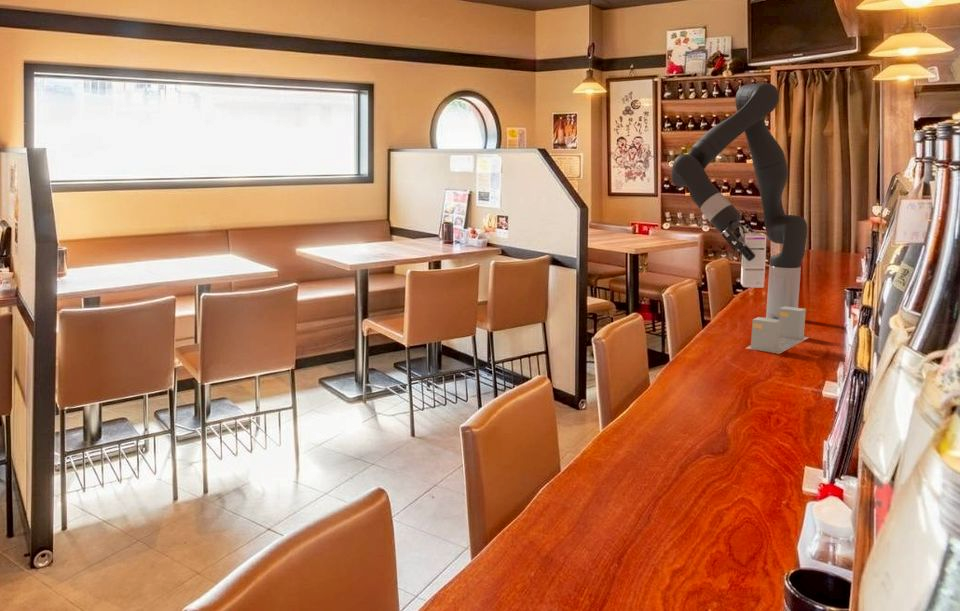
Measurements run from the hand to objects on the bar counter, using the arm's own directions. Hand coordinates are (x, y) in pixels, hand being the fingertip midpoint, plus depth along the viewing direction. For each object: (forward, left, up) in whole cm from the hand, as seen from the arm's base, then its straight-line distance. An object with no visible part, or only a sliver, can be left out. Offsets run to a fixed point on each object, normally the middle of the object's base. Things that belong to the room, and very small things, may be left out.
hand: (758, 257), depth 205 cm
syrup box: (0, -1, -8) cm, 8 cm away
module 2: (-10, +7, -23) cm, 26 cm away
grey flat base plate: (0, +7, -24) cm, 25 cm away
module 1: (+10, +7, -23) cm, 26 cm away
